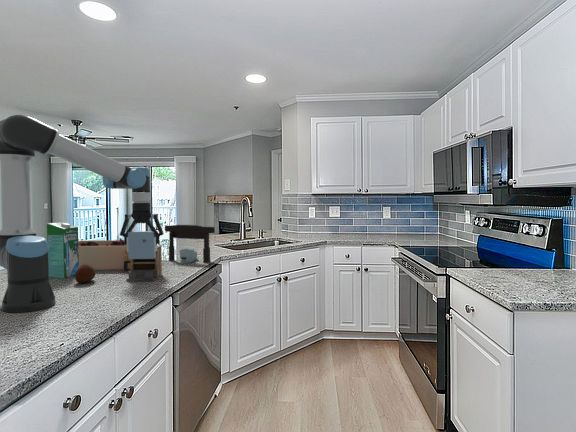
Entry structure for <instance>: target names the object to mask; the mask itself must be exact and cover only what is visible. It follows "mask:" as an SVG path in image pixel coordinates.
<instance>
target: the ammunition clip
mask: <svg viewBox="0 0 576 432" xmlns="http://www.w3.org/2000/svg"><path fill="white" fill-rule="evenodd" d="M123 272H130V259H129V253H128V260H127V249H126V247H125V249H124V269H123Z"/></svg>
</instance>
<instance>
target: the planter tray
mask: <svg viewBox="0 0 576 432" xmlns="http://www.w3.org/2000/svg"><path fill="white" fill-rule="evenodd" d="M122 240H123V242H124V239H122ZM88 241H89V242H95V243H97V244H98V245H99V246H81V245H80V244H82V243H85V244H86V242H87V243H88ZM113 241H114V242H115V241H120V239H118V240H117V239H113V240H112V239H111V240H109V239H108V240H107V239H106V240H78V252H79V267H80V266H82V265H85V264H86V265H90V266H92V267H93V268H94V270H95V271H97V270H98V271H99V270H101V271H102V270H124V249H125V247H126V249H127V246H111V245H110V244H111V243H112V242H113ZM106 244H108V245H109V246H106ZM127 260H128V252H127Z"/></svg>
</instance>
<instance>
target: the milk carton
mask: <svg viewBox="0 0 576 432" xmlns="http://www.w3.org/2000/svg"><path fill="white" fill-rule="evenodd" d="M46 240H47V242H48V247H49V250H48V264H49V278H51V277H53V279H57V278H58V279H67V277H68V278H70V277H75V273H76V271H77V270H78V268H79V252H78V241H79V227H78V226H75V225H72V223H68V222H63V221H61V222H60V221H59V222H49V223H46Z"/></svg>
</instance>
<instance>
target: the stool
mask: <svg viewBox="0 0 576 432" xmlns="http://www.w3.org/2000/svg"><path fill="white" fill-rule="evenodd" d="M215 230H216V229H215V226H202V225H197V224H173V225H164V231H165V232H167V233H169V234H168V235H169V239H168V241H169V245H168V261H172V262H173V261H175V258H176V257H175V256H176V255H175V254H176V253H175V246H174V245H175V242H174V241H175V240H174V239H189V240H203V248H202V250H203V253H202V256H203V257H202V259H203V260H202V261H203V263H209V262H211V247H210V234H214V233H215ZM179 258H180V263H181V264H187V263H189V264H190V263H191V262H192V263H193V262H195V261H196V262H197V261H198V260H199V259H198V252H197V251H196V250H195V249H194V248H190V247H188V248H183V249H180V250H179Z"/></svg>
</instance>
